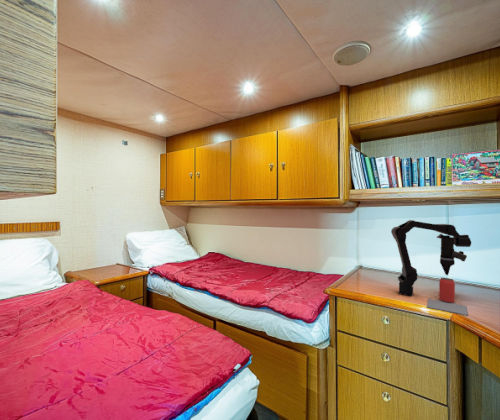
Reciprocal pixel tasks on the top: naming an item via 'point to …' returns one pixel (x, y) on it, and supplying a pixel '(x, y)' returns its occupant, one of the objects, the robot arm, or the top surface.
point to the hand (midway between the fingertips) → (446, 273)
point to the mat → (447, 307)
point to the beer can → (447, 290)
